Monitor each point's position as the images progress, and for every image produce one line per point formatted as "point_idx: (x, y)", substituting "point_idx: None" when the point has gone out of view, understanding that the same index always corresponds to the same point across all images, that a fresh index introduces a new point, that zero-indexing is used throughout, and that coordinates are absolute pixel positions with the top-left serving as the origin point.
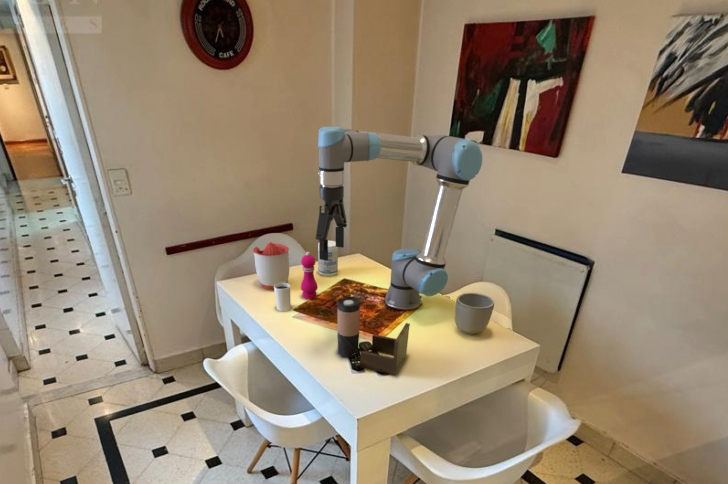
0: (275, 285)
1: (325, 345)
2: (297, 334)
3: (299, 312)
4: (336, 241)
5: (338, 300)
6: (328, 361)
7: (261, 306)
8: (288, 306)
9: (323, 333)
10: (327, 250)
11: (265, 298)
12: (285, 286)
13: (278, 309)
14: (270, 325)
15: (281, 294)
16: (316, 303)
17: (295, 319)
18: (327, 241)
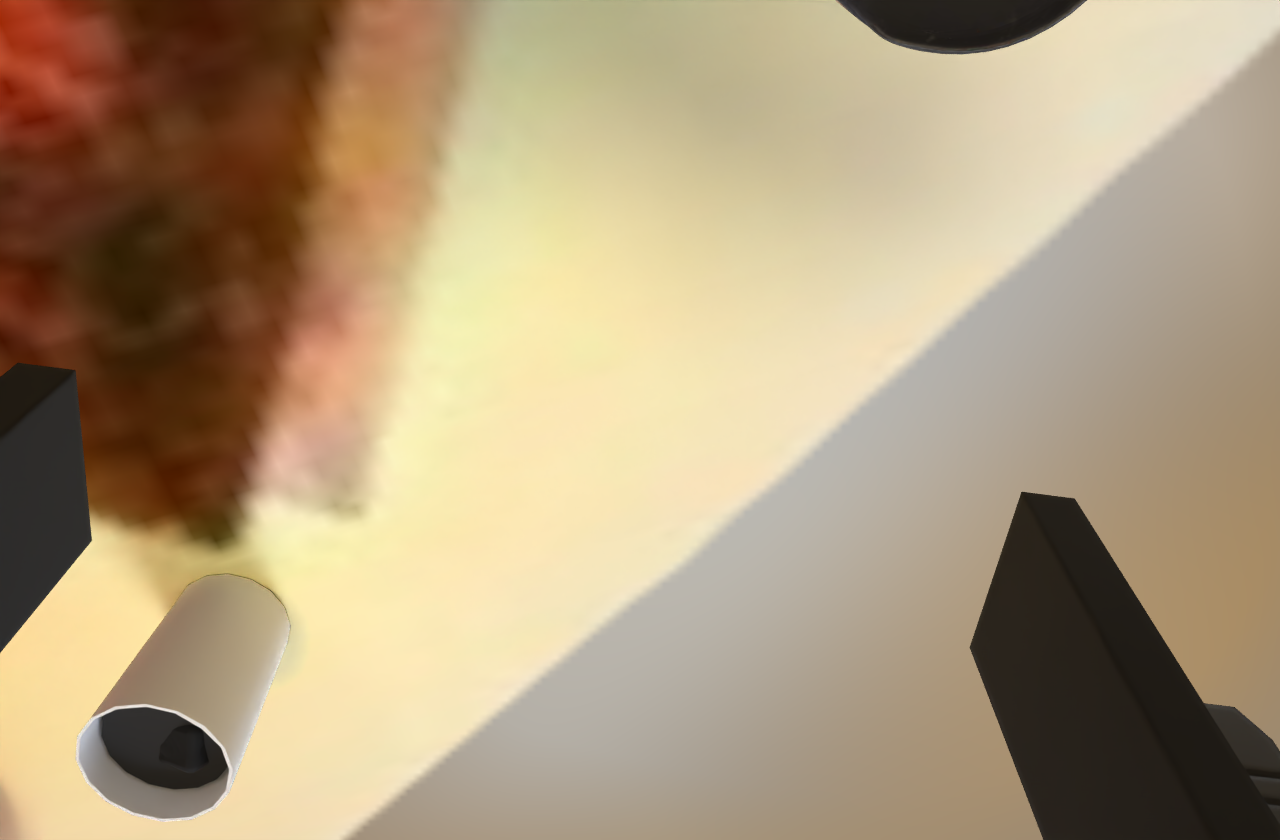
0: (158, 810)
1: (756, 113)
2: (627, 395)
3: (248, 490)
4: (24, 595)
5: (967, 45)
6: None
7: (275, 766)
8: (237, 598)
9: (546, 190)
10: (1142, 641)
11: None
12: (97, 733)
13: (284, 649)
14: (544, 621)
15: (241, 714)
16: None
17: (382, 483)
18: (1250, 835)
